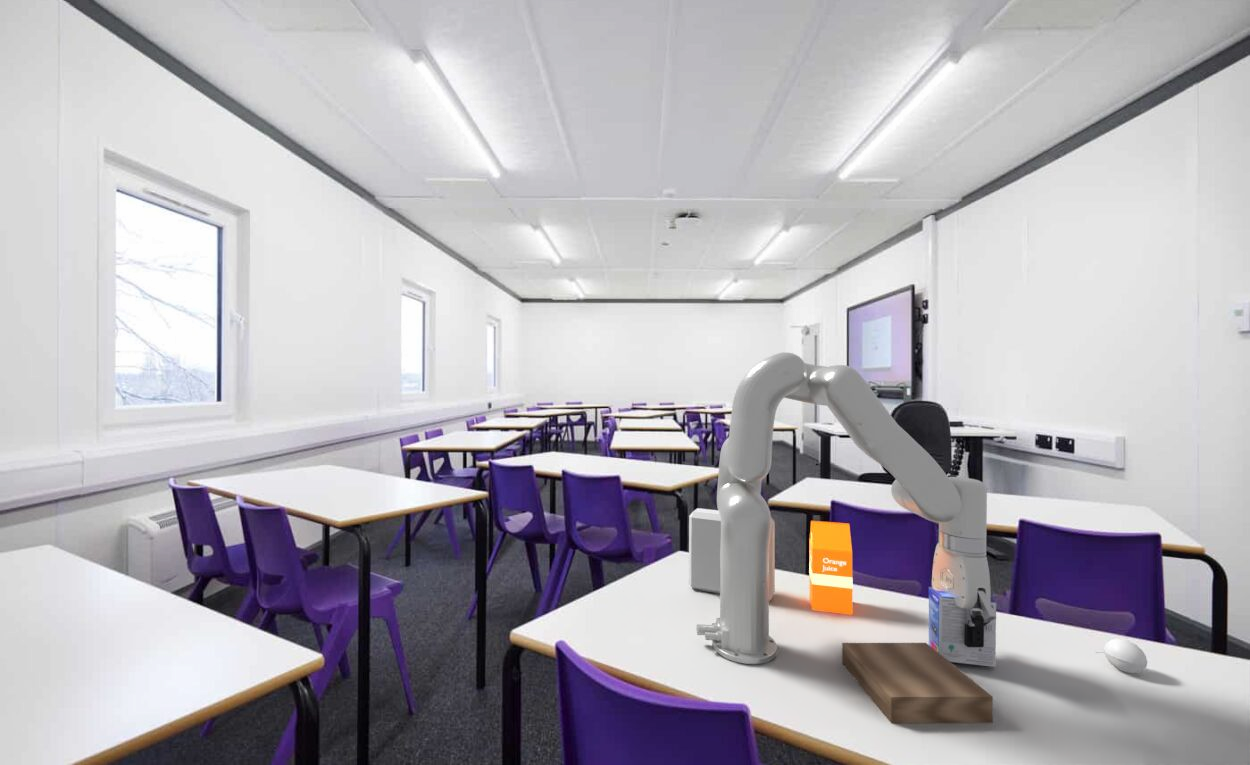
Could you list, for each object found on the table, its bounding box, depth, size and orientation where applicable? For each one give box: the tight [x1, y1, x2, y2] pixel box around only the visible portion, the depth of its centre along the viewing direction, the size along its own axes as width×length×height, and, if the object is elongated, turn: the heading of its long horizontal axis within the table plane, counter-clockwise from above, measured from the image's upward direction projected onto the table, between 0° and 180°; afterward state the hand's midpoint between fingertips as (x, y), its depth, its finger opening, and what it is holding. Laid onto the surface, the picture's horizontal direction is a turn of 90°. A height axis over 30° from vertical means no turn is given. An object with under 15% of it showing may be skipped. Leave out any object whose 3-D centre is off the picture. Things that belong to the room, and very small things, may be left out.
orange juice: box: [808, 520, 854, 616], centre depth 115 cm, size 8×9×20 cm
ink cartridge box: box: [928, 586, 997, 668], centre depth 92 cm, size 10×6×14 cm, turn 80°
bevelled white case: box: [688, 507, 776, 602], centre depth 123 cm, size 21×8×20 cm, turn 66°
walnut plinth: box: [841, 642, 994, 724], centre depth 82 cm, size 16×16×4 cm
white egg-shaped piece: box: [1094, 638, 1148, 674], centre depth 89 cm, size 8×6×6 cm
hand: (960, 636), depth 92 cm, fingers closed on ink cartridge box, 6 cm apart
